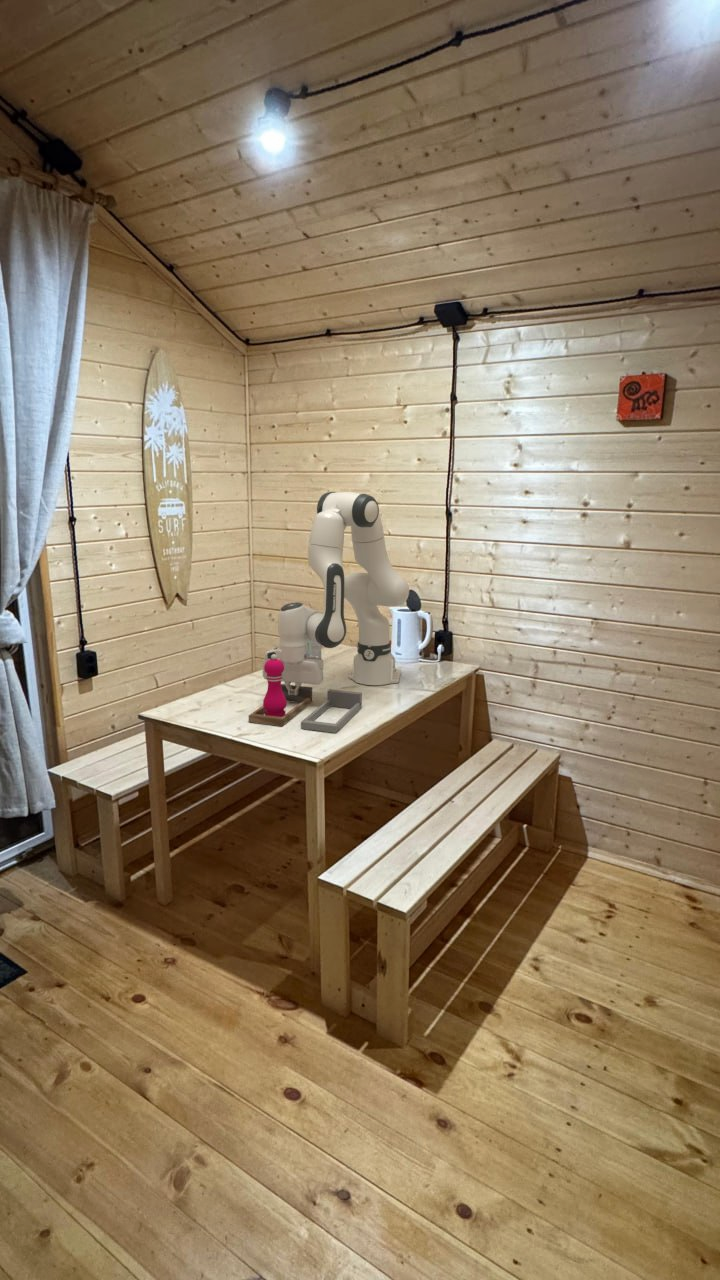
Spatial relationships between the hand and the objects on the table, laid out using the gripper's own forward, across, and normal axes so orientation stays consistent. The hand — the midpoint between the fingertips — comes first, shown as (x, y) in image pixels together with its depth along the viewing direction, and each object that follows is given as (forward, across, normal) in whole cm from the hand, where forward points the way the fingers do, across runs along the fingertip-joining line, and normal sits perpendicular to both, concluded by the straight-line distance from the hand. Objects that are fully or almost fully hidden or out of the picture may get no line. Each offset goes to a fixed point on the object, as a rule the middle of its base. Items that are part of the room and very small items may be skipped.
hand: (293, 694), depth 225 cm
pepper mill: (+3, 0, +14) cm, 14 cm away
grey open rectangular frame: (+3, -17, +9) cm, 19 cm away
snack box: (+3, +13, -47) cm, 49 cm away
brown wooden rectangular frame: (+3, 0, +9) cm, 9 cm away
